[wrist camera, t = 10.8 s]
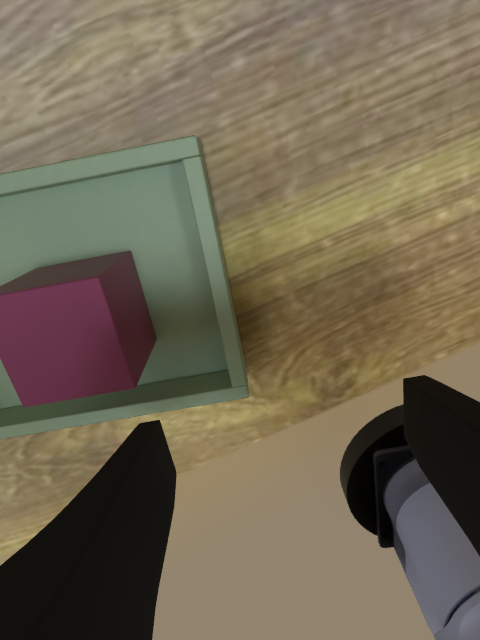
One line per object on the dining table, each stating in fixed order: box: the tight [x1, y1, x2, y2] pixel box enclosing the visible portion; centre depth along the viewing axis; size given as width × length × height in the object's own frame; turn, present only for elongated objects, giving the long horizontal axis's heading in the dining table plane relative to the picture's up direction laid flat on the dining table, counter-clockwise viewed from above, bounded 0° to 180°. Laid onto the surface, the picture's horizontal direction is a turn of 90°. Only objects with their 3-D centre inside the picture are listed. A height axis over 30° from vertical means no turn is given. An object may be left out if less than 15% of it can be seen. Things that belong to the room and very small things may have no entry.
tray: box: [0, 135, 249, 439], centre depth 17 cm, size 11×15×2 cm
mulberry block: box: [0, 251, 157, 407], centre depth 15 cm, size 4×4×4 cm
